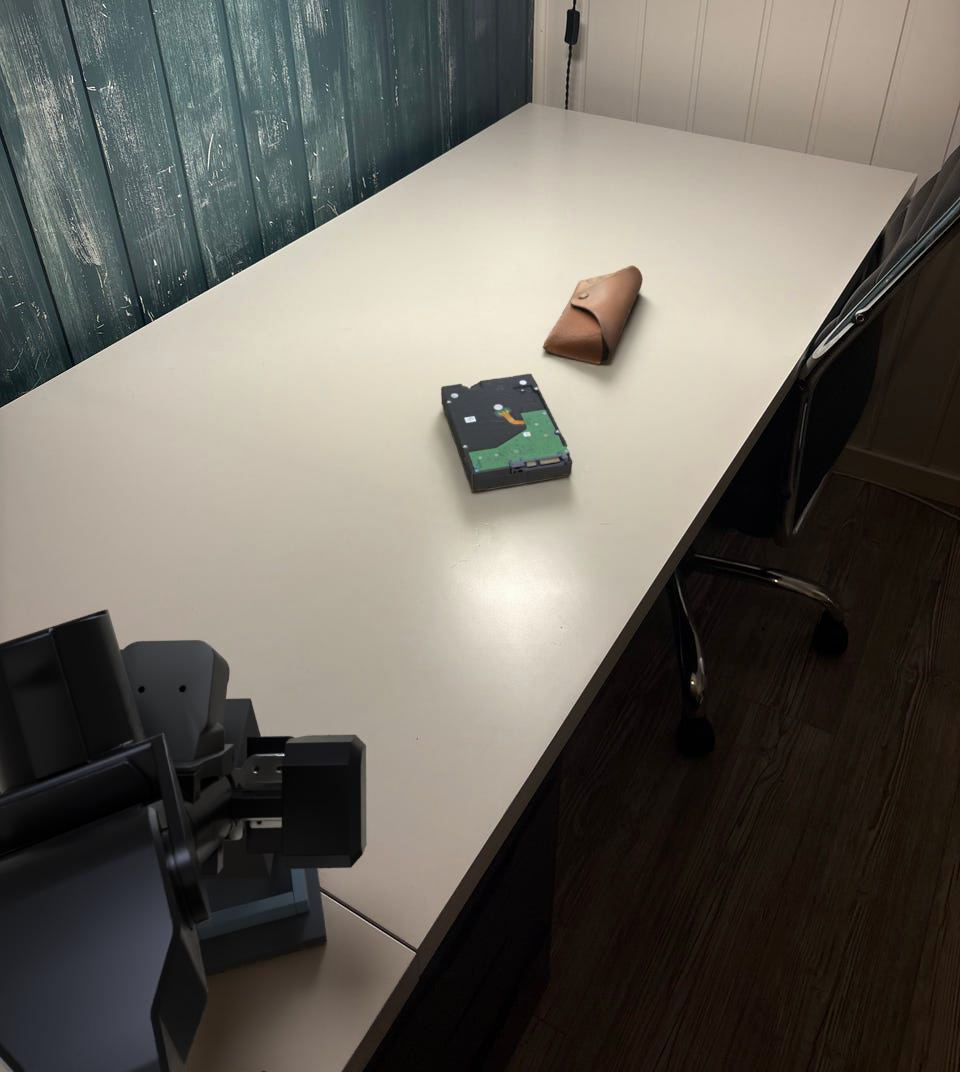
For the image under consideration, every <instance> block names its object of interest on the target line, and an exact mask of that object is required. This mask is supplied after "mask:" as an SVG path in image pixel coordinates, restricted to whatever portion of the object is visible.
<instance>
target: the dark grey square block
mask: <svg viewBox="0 0 960 1072" xmlns="http://www.w3.org/2000/svg"><path fill="white" fill-rule="evenodd" d="M223 728H224V729H225V744H234V768H241V767H243V765H244V763H245V761H246V760H247V737H259V736H262V735H261V732H260V727H259V723H258V721H257V717H256V713H255V709H254V705H253V701H252V698H251V697H248V698H247V697H245V698H244V697H243V698H226V704H225V714H224V724H223ZM231 789H232V791H233V790H242V788H241V785H240V784H239V786H238V788H237V789H234V787H233V784H231ZM235 820H236V823H238V821H239V819H235ZM243 821H244V835H243V837H242V838H241V839H240V840H223V868H222V869H221V871H220V872H219V873H218V874H217V875H202V876H203V879H209V878H260V877H270V873H271V867H272V861H273V855H274V853H266V854H246V820H243Z"/></svg>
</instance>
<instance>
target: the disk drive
mask: <svg viewBox="0 0 960 1072" xmlns="http://www.w3.org/2000/svg"><path fill="white" fill-rule="evenodd" d="M440 395H441V396H440V398H441V405H442V410H443V413H444V416H445V419H446V420H447V423H448V425H449V429H450V432H451V435H452V437H453V440H454V443H455V445H456V449H457V452H458V454H459V457H460V459H461V463H462V467H463V468H464V473H465V476H466V478H467V481H468V483H469V486H470V487H471V491H472V492H476V491H482V490H493V489H499V488H504V487H510V486H517V485H522V484H523V485H524V484H528V483H535V482H540V481H546V480H551V479H558V478H563V477H565V476H570V475H572V468H573V459H572V457H571V454H570V450H569V448H568V444H567V441H566V440H565V437H564V436H563V434H562V432H561V431H560V430H561V429H560V428H559V426H558V424H557V422H556V420H555V418H554V416H553V414H552V412H551V409H550V408H549V405H548V404H547V402H546V400H545V398H544V396H543V393H542V392H541V390H540V388H539V385H538V383H537V381H536V380H535V378H534V376H533V374H532V373H524V374H518V375H513V376H506V377H498V378H497V377H496V378H491V379H490V378H489V379H484V380H483V379H482V380H480V381H478V382H477V383H474V384H473V385H471V386H470V387H469V386H466V385H463V384H462V383H457V384H450V385H449V384H448V385H443V386H441V387H440Z"/></svg>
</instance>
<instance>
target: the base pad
mask: <svg viewBox="0 0 960 1072" xmlns="http://www.w3.org/2000/svg"><path fill="white" fill-rule="evenodd" d="M318 869H319V868H314V869H285V867H284V863H283V860H282V853H274V855H273V861H272V867H271V873H270V877H260V878H209V879H203V880H204V883H205V887H206V892H207V896H208V900H209V905H210V909H211V916H212V919H211V920H210V921H207V922H205V923H203V924H201V925H198V926H196V931H197V936H198V941H199V946H200V951H201V956H202V961H203V966H204V971H205V976H206V977H208V976H211V975H216V974H218V973H222V972H225V971H226V972H227V971H230V970H233V969H236V968H240V967H244V966H247V965H251V964H254V963H258V962H262V961H265V960H270V959H272V958H277V957H281V956H284V955H287V954H290V953H295V952H297V951H301V950H306V949H309V948H313V947H316V946H320V945H323V944H327V943H328V936H327V929H326V922H325V914H324V907H323V901H322V900H323V899H322V892H321V885H320V877H319V870H318Z"/></svg>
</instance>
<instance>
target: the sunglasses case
mask: <svg viewBox="0 0 960 1072" xmlns="http://www.w3.org/2000/svg"><path fill="white" fill-rule="evenodd" d="M643 279H644V278H643V274H642V272H641V270H640V269H639V268H638V267H636V266H635V265H629V266H626V267H624V268H622V269H620V270H617V271H615V272H612V273H607V274H603V275H598V276H594V277H590V278H586V279H581V280H579V281H578V283H577V285H576V287H575V289H574V291H573V293H572V295H571V297H570V298H569V300H568V302H567V304H566V306H565V307H564V309H563V311H562V313H561V315H560V316H559V318H558V320H557V321H556V323H555V325H554V326H553V328H552V329H551V331H550V332H549V334H548V335H547V337H546V339H545V340H544V342H543V345H542V349H543V350H545V351H546V352H547V353H550V354H554V355H557V356H559V357H562V358H566V359H569V360H573V361H578V362H582V363H586V364H592V365H597V366H599V365H604V364H606V363H607V362H608V361H610V359H611V357H612V356H613V353H614V351H615V349H616V346H617V344H618V341H619V339H620V337H621V334H622V332H623V329H625V325H626V322H627V320H628V318H629V315H630V313H631V311H632V308H633V306H634V304H635V302H636V299H637V297H638V295H639V293H640V290H641V289H642V285H643Z"/></svg>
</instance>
